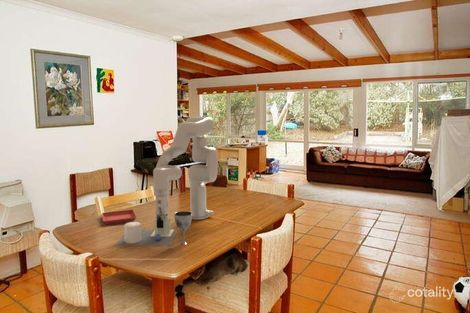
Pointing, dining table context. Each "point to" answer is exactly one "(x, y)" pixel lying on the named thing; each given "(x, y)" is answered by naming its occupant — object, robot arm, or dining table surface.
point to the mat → (150, 238)
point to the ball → (157, 237)
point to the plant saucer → (118, 217)
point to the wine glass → (183, 222)
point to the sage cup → (166, 226)
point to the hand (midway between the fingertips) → (162, 224)
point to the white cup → (132, 232)
